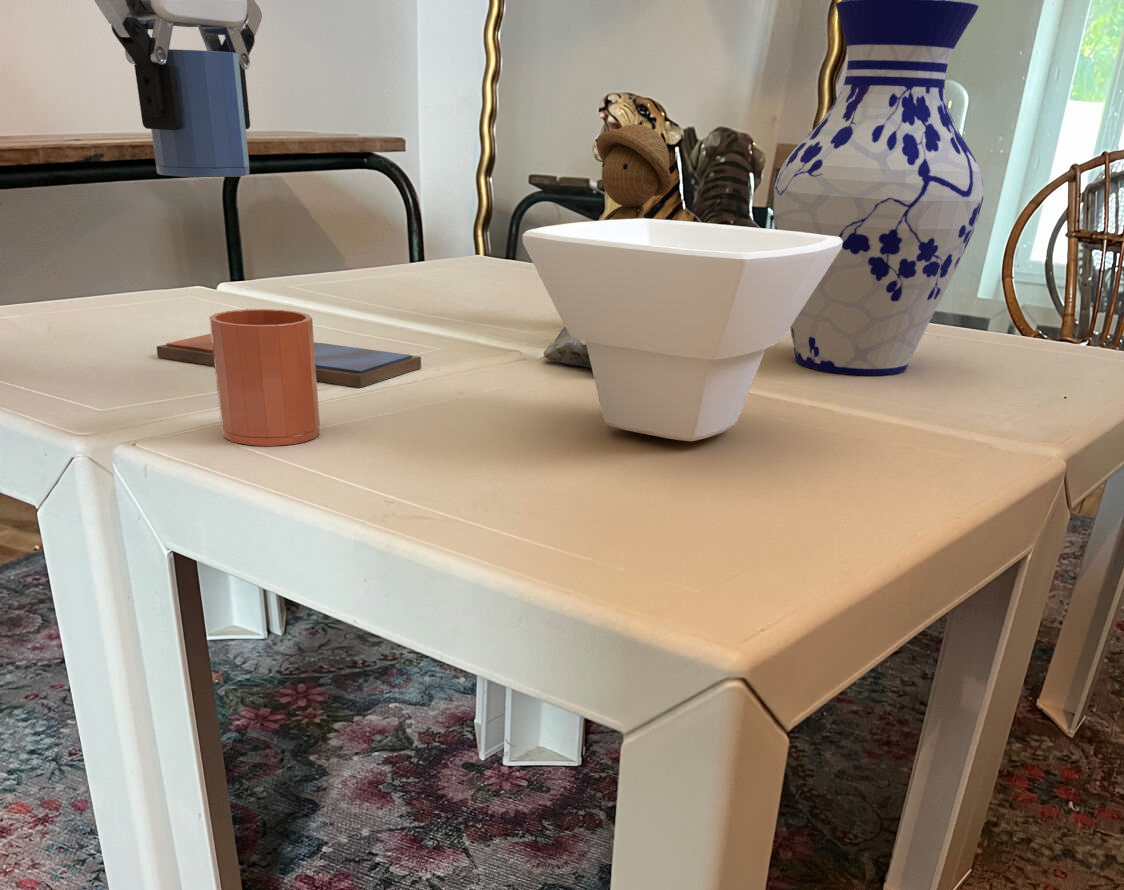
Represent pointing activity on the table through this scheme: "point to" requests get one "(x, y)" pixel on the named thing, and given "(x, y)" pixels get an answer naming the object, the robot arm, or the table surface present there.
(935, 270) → the vase
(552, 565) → the table surface
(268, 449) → the table surface
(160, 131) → the blue cup
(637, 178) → the figurine
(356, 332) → the table surface
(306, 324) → the terracotta cup
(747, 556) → the table surface
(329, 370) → the board
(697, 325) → the bowl
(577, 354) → the rock
